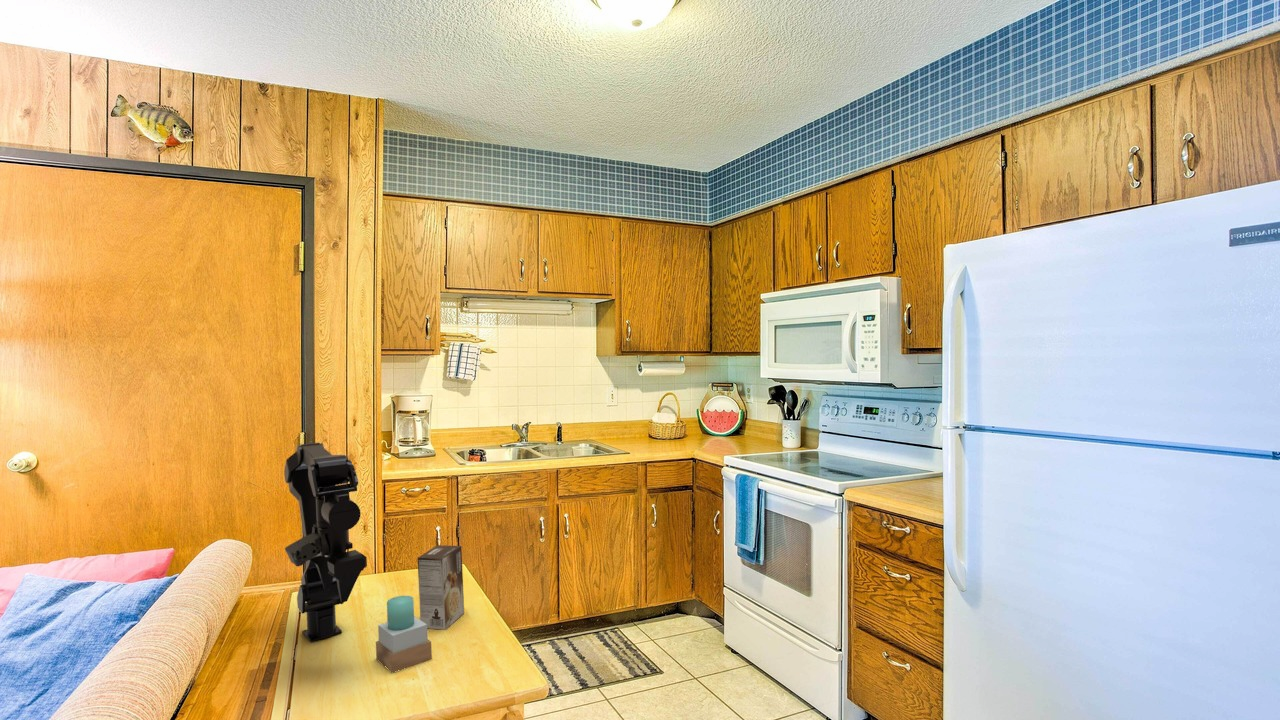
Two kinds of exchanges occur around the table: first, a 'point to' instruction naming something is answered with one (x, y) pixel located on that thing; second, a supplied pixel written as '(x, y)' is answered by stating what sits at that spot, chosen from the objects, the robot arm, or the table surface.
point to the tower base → (403, 656)
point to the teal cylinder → (400, 613)
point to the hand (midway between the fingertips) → (335, 595)
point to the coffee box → (441, 586)
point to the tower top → (403, 636)
